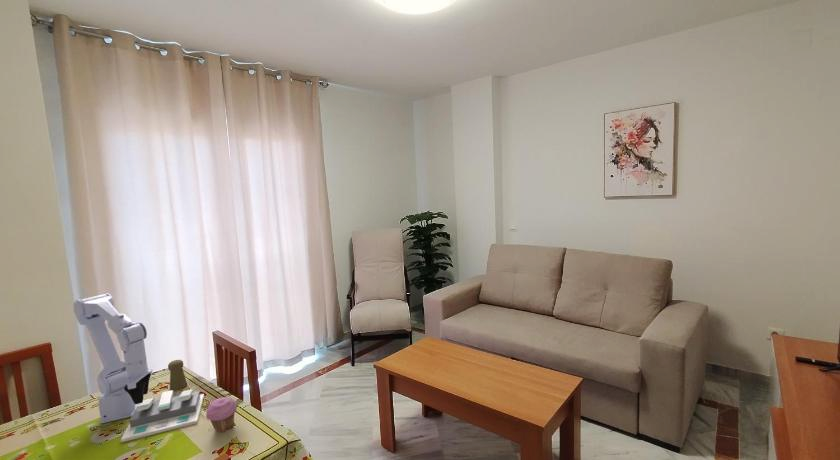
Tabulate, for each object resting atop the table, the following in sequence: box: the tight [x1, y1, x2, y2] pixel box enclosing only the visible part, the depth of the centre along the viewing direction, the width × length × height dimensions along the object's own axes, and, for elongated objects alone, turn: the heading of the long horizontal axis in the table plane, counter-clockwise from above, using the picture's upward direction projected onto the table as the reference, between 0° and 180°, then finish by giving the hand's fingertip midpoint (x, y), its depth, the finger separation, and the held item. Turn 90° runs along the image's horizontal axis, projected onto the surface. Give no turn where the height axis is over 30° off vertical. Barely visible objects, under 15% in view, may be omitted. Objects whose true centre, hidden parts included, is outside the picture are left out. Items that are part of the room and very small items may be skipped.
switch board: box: [120, 390, 205, 443], centre depth 130 cm, size 21×18×4 cm
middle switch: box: [158, 390, 174, 411], centre depth 132 cm, size 3×8×2 cm, turn 24°
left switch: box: [136, 397, 155, 411], centre depth 130 cm, size 3×8×2 cm, turn 23°
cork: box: [167, 359, 188, 392], centre depth 150 cm, size 6×6×11 cm
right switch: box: [178, 388, 194, 402], centre depth 134 cm, size 3×8×2 cm, turn 23°
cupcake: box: [205, 396, 238, 433], centre depth 123 cm, size 9×9×10 cm
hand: (141, 398), depth 126 cm, fingers open, 5 cm apart
